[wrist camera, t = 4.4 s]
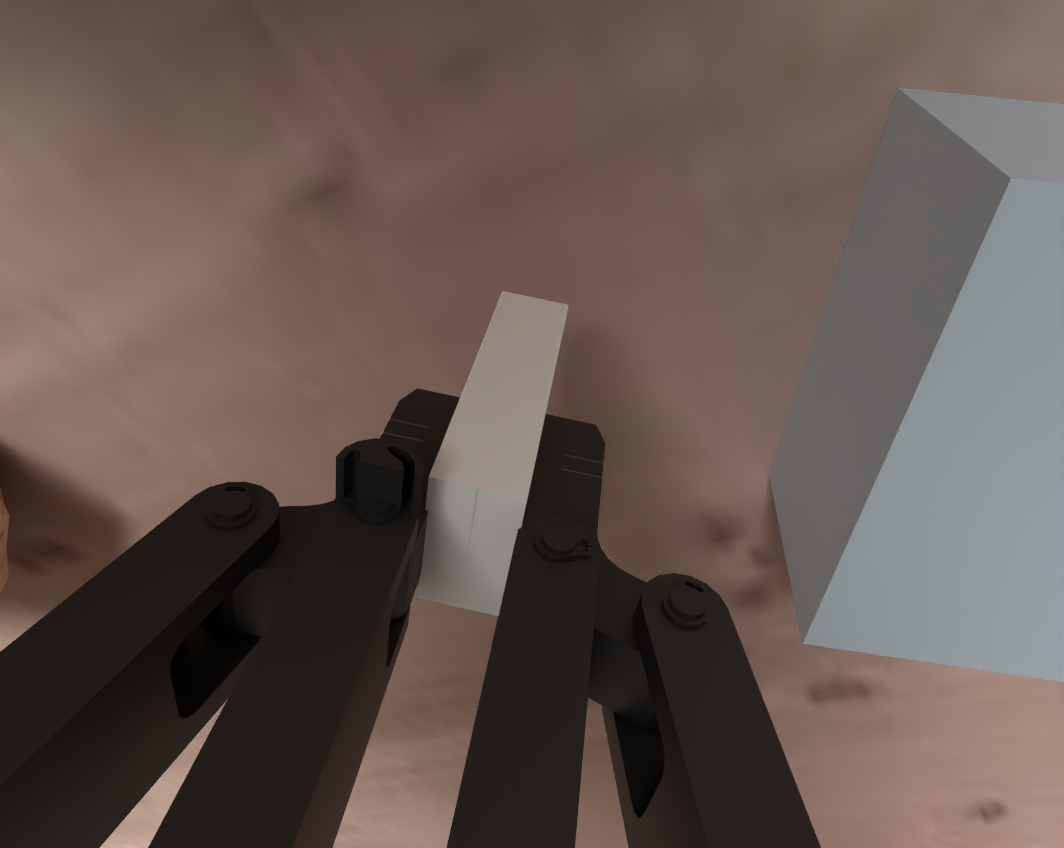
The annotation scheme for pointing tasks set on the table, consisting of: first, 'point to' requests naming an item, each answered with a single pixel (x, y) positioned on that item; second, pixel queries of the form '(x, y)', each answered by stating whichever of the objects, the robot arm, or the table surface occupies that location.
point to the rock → (3, 542)
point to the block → (939, 400)
